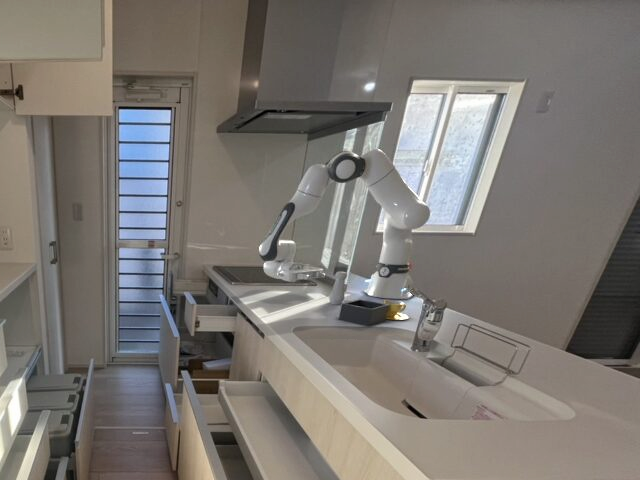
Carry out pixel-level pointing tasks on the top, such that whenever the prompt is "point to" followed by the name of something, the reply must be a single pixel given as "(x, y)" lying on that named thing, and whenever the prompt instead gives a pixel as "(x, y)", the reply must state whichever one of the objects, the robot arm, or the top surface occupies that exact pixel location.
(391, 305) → the cup
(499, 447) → the top surface
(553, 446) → the top surface
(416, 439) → the top surface
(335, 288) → the salt shaker
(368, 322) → the dark grey open box
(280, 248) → the robot arm
